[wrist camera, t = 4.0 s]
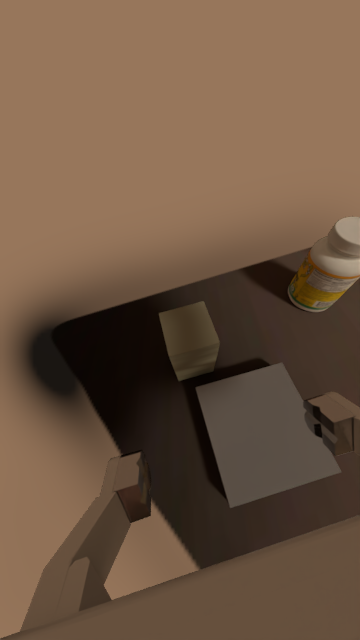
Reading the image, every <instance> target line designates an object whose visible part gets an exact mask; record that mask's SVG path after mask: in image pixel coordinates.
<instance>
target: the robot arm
mask: <svg viewBox="0 0 360 640" xmlns="http://www.w3.org/2000/svg"><path fill="white" fill-rule="evenodd" d="M303 407H304V408H305V409H306V412H305V414H304V418H305V422H306V424H307V426H308V428H309V429H310V431H311V432H312V433H313V434H314V435H315V436H318V437H320V438H322V441H323V444H324V445H325V446H326V447H327V448H328V449H329V450H330V451H331V452H332V453H333V454H334V455H335V456H338V455H341V454H345V453H348V452H352V451H354V452H355V453H357V454H359V455H360V408H359V407H358V406H356V405H355V404H353V403H352V402H350V401H349V400H347V399H346V398H344V397H343V396H341V395H340V394H338V393H336V392H333V391H332V392H329V393H326V394H323V395H319V396H316V397H313V398H310V399H307V400H304V402H303ZM150 488H151V473H150V468H149V465H148V463H147V462H146V461H145V454H144V452H143V450H139V451H135V452H131V453H128V454H124V455H121V456H118V457H114V458H111V459H110V460H109V462H108V466H107V470H106V474H105V478H104V482H103V485H102V489H101V493H100V497H97V498H96V499H95V500H94V501H93V503H92V504H91V506H90V507H89V508H88V510H87V511H86V513H85V514H84V515H83V517H82V518H81V519H80V521H79V522H78V523H77V525H76V526H75V527H74V529H73V530H72V531H71V533H70V534H69V536H68V537H67V538H66V540H65V541H64V543H63V544H62V545H61V546H60V548H59V549H58V551H57V552H56V553H55V555H54V556H53V557H52V559H51V560H50V562H49V563H48V564H47V565H46V567H45V568H44V570H43V573H42V575H41V578H40V581H39V583H38V586H37V588H36V591H35V593H34V596H33V599H32V602H31V604H30V607H29V609H28V612H27V614H26V617H25V620H24V622H23V625H22V628H21V630H20V632H18V633H15V634H12V635H9V636H6V637H3V638H0V640H360V515H358V516H355V517H352V518H349V519H346V520H343V521H340V522H337V523H335V524H332V525H329V526H326V527H323V528H320V529H317V530H314V531H311V532H308V533H305V534H303V535H300V536H297V537H294V538H291V539H288V540H285V541H282V542H279V543H277V544H274V545H271V546H268V547H265V548H262V549H259V550H256V551H253V552H250V553H248V554H245V555H242V556H239V557H236V558H233V559H230V560H227V561H224V562H222V563H219V564H216V565H213V566H210V567H207V568H204V569H201V570H198V571H195V572H192V573H190V574H187V575H184V576H181V577H178V578H175V579H173V580H169V581H166V582H163V583H161V584H158V585H155V586H152V587H149V588H146V589H143V590H140V591H137V592H134V593H132V594H129V595H126V596H123V597H120V598H117V599H114V600H111V598H110V596H109V594H108V593H107V591H106V589H105V587H104V583H105V581H106V579H107V576H108V574H109V572H110V570H111V567H112V565H113V563H114V560H115V558H116V556H117V554H118V552H119V550H120V547H121V545H122V543H123V541H124V538H125V536H126V534H127V532H128V530H129V528H130V525H131V524H130V523H132V522H135V521H138V520H140V519H143V518H146V517H149V516H151V497H150V494H149V490H150Z"/></svg>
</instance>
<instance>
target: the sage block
mask: <svg viewBox="0 0 360 640" xmlns="http://www.w3.org/2000/svg"><path fill="white" fill-rule="evenodd" d="M159 317H160V321H161V326H162V330H163V334H164V338H165V342H166V346H167V351H168V355H169V358H170V361H171V363H172V366H173V368H174V371H175V373H176V376H177V378H178V381H181V380H185V379H188V378H192V377H195V376H199V375H203V374H206V373H210V372H213V371H214V367H215V362H216V358H217V353H218V349H219V345H220V341H219V339H218V336H217V334H216V331H215V329H214V326H213V324H212V321H211V319H210V316H209V314H208V311H207V309H206V306H205V303H204V301H203V302H199V303H195V304H192V305H188V306H184V307H180V308H176V309H173V310H169V311H165V312H161V313H159Z"/></svg>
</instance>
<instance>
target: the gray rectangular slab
mask: <svg viewBox="0 0 360 640" xmlns="http://www.w3.org/2000/svg"><path fill="white" fill-rule="evenodd" d="M195 388H196V394H197V397H198V401H199V404H200V408H201V411H202V415H203V418H204V422H205V425H206V429H207V432H208V436H209V439H210V443H211V446H212V450H213V453H214V457H215V460H216V464H217V467H218V471H219V474H220V478H221V481H222V485H223V488H224V492H225V495H226V499H227V502H228V504H229V506H230V508H232V507H235V506H238V505H241V504H244V503H247V502H251V501H254V500H257V499H260V498H263V497H266V496H269V495H272V494H275V493H278V492H281V491H284V490H288V489H291V488H294V487H297V486H300V485H303V484H306V483H309V482H312V481H315V480H318V479H321V478H325V477H328V476H331V475H334V474H337V473H340V472H341V470H340V468H339V466H338V465H337V463H336V461H335V459H334V457H333V455H332V454H331V452H330V450H329V449H328V448H327V447H326V446H325V445H324V444H323V441H322V438H320V437H318V436H315V435H314V434H313V433H312V432H311V431H310V429H309V428H308V426H307V424H306V422H305V418H304V414H305V412H306V409H305V408H304V407H303V400H302V398H301V397H300V395H299V393H298V391H297V389H296V387H295V385H294V384H293V382H292V380H291V378H290V376H289V374H288V373H287V371H286V369H285V367H284V365H283V363H279V364H275V365H272V366H268V367H265V368H261V369H258V370H254V371H251V372H247V373H244V374H240V375H237V376H233V377H230V378H226V379H223V380H219V381H216V382H212V383H209V384H205V385H202V386H198V387H195Z"/></svg>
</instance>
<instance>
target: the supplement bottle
mask: <svg viewBox="0 0 360 640" xmlns="http://www.w3.org/2000/svg"><path fill="white" fill-rule="evenodd" d="M359 278H360V217H345V218H342V219H340V220H338V221H337V222H336V224H335V225H334V226H333V228H332V229H331V231H330V232H329V234H328V236H327V237H324V238H322V239H320V240H318V241H317V242H316V243H315V244H314V245H313V247H312V248H311V250H310V251H309V253H308V255H307V256H306V258H305V260H304V261H303V263H302V265H301V266H300V268H299V270H298V271H297V273H296V275H295V276H294V278H293V280H292V281H291V283H290V285H289V287H288V295H289V298H290V300H291V301H292V303H293V304H294V305H296V306H297V307H299V308H300V309H303V310H305V311H310V312H320V311H324V310H326V309H327V308H329V307H330V306H331V305H332V304H333V303H334V302H335V301H336V300H337V299H338V298H339V297H340V296H341V295H342V294H343V293H344V292H345V291H346V290H347V289H348V288H349V287H350V286H352V285H353V283H355V282H356V281H357V280H358V279H359Z"/></svg>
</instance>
